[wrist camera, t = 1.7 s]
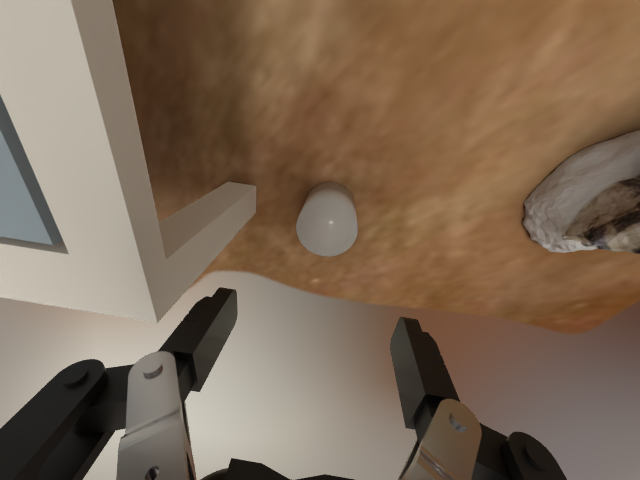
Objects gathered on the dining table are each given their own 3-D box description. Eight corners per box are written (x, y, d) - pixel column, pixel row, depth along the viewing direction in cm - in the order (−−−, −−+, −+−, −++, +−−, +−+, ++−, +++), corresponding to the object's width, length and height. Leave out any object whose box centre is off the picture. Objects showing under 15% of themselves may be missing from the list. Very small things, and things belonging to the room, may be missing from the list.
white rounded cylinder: (308, 178, 24) (299, 196, 19) (359, 185, 24) (363, 205, 19) (303, 224, 27) (293, 251, 22) (349, 231, 27) (351, 260, 22)
